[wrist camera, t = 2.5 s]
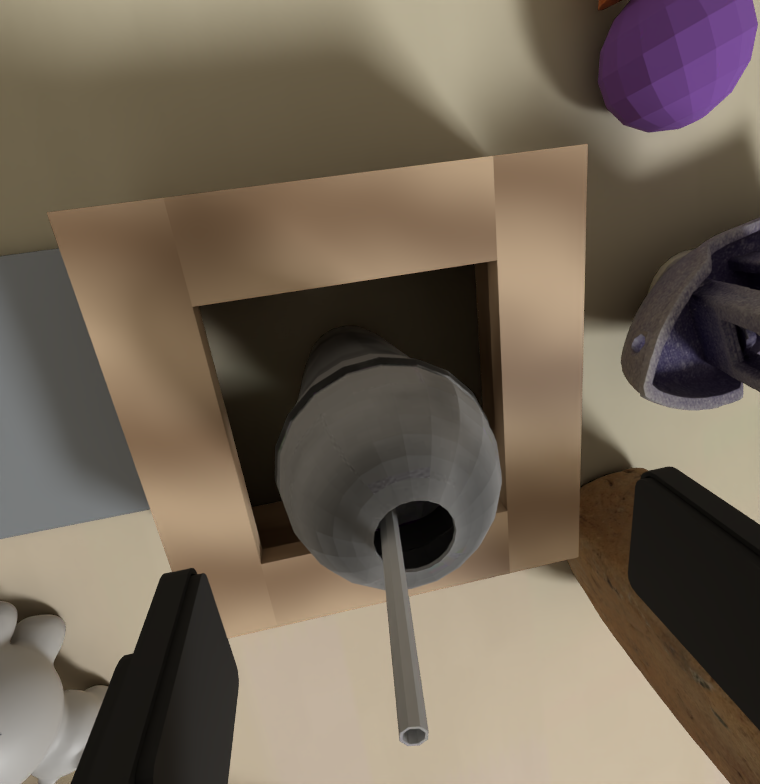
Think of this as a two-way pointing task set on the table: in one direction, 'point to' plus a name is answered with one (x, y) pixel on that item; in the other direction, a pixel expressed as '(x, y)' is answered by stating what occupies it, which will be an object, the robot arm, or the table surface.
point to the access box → (320, 269)
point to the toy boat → (700, 325)
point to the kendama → (673, 59)
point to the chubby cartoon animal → (39, 702)
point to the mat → (55, 408)
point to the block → (656, 632)
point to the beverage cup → (387, 481)
